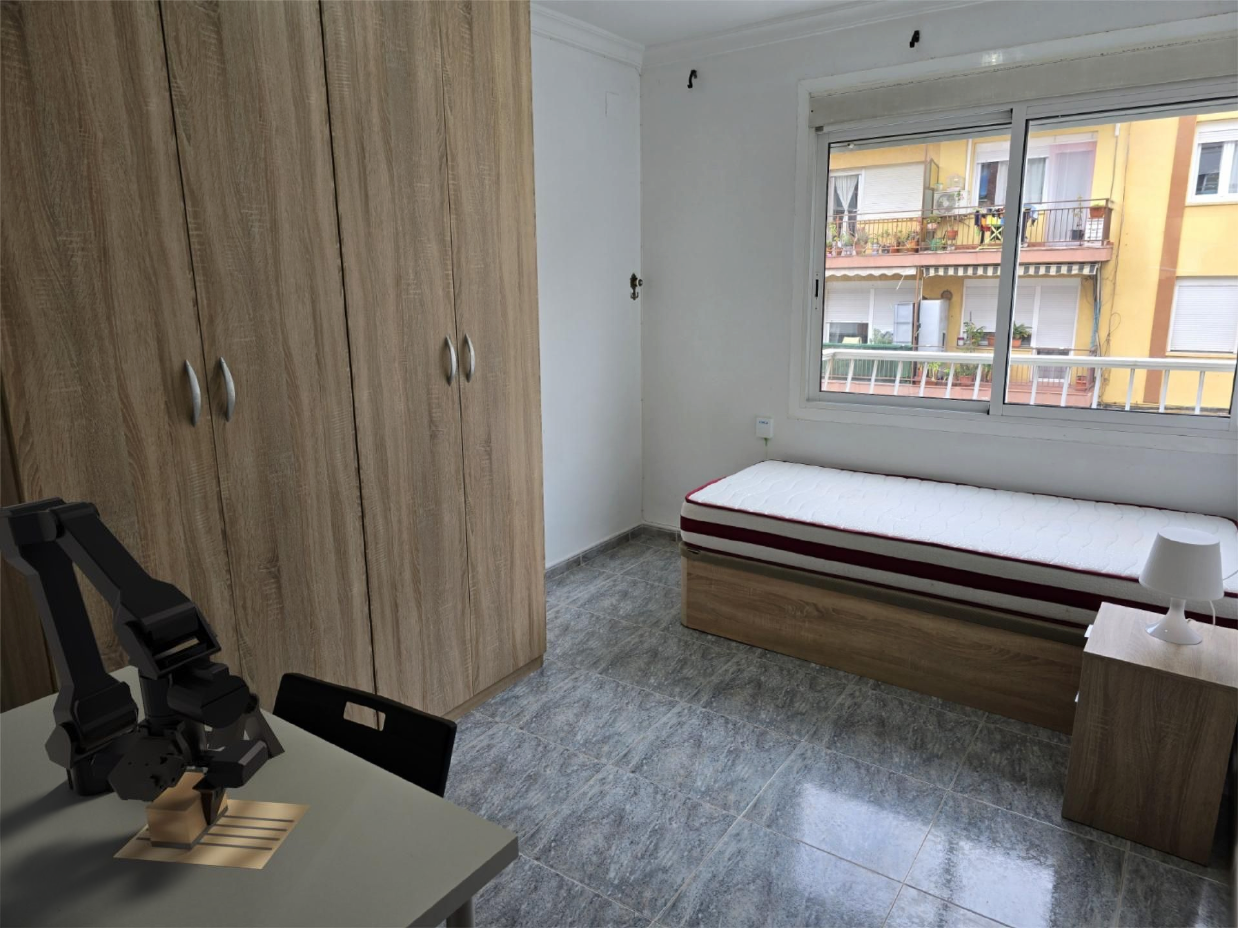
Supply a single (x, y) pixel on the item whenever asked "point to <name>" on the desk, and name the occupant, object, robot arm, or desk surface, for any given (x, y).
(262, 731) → the phone stand
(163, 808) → the block
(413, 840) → the desk surface
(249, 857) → the pine board
